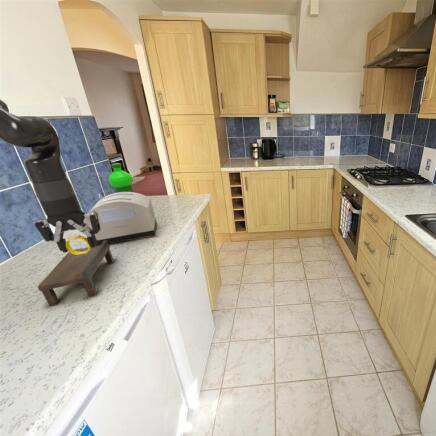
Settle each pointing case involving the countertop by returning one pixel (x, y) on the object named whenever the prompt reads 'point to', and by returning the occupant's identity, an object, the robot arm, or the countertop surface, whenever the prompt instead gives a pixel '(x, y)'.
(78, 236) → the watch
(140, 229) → the toaster
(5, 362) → the countertop surface
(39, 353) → the countertop surface
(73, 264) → the small brown table
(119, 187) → the plastic bottle
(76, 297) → the countertop surface
